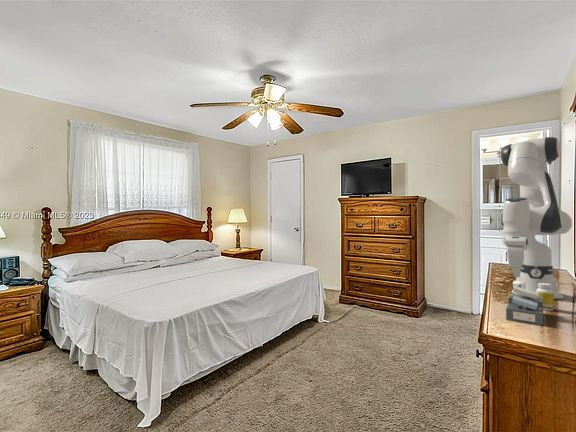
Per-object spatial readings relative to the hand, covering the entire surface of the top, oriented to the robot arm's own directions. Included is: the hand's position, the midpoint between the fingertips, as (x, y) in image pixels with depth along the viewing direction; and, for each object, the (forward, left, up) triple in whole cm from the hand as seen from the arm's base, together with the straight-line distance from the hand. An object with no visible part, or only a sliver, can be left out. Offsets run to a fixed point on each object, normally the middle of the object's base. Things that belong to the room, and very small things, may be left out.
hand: (517, 277), depth 121 cm
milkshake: (-19, 0, -14) cm, 23 cm away
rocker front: (+9, +2, -8) cm, 12 cm away
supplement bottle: (-13, +8, -14) cm, 20 cm away
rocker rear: (0, +2, -6) cm, 6 cm away
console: (+4, +2, -13) cm, 14 cm away
